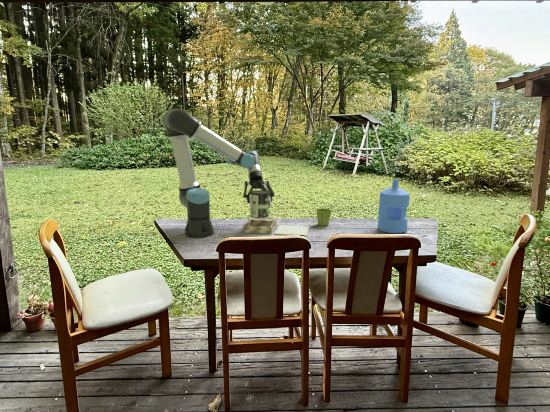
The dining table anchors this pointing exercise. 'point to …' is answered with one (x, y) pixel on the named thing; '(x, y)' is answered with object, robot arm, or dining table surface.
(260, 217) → the coffee can
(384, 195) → the water jug
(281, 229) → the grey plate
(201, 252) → the dining table surface
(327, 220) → the plant pot
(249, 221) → the birch frame
